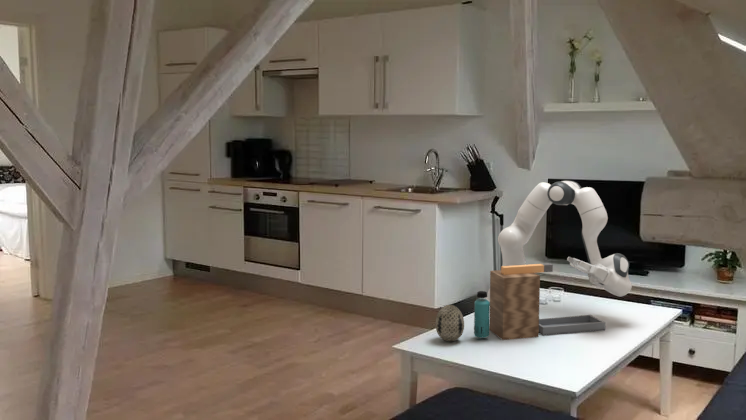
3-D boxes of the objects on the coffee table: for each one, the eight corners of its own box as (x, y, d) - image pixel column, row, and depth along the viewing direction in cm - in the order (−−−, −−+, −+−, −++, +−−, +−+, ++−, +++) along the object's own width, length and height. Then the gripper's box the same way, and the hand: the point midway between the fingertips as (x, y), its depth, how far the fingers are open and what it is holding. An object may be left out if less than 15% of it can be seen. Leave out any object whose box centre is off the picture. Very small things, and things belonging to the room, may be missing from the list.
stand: (523, 327, 307) (525, 268, 304) (538, 336, 294) (540, 275, 290) (489, 329, 303) (490, 270, 300) (502, 340, 290) (503, 278, 286)
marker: (549, 270, 300) (549, 263, 300) (552, 271, 297) (552, 264, 297) (501, 273, 295) (501, 266, 295) (504, 274, 292) (504, 267, 292)
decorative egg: (429, 340, 290) (429, 304, 288) (449, 334, 298) (449, 299, 296) (450, 347, 281) (450, 310, 279) (470, 341, 289) (470, 305, 287)
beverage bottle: (489, 336, 295) (489, 289, 292) (490, 341, 288) (490, 293, 285) (473, 336, 295) (473, 289, 293) (473, 341, 289) (474, 293, 286)
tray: (590, 322, 313) (590, 314, 313) (605, 330, 302) (605, 322, 301) (530, 327, 307) (530, 319, 306) (542, 335, 295) (543, 327, 295)
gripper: (589, 263, 314) (565, 249, 311) (615, 273, 295) (589, 258, 291) (582, 275, 314) (558, 262, 311) (608, 286, 295) (582, 272, 291)
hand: (573, 260), depth 301 cm, fingers open, 8 cm apart
